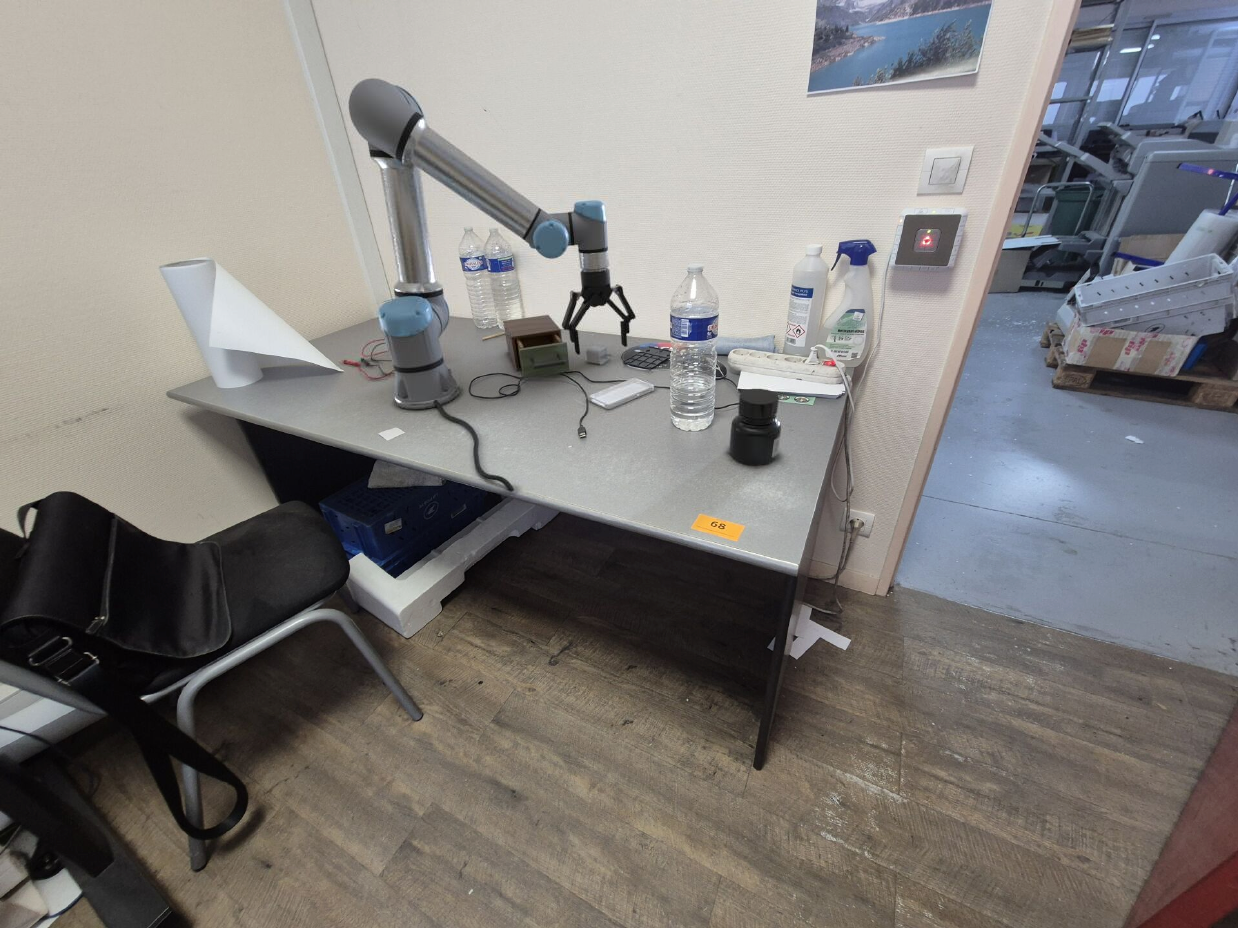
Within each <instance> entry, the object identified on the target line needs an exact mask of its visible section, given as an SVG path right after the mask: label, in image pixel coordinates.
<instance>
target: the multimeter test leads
mask: <svg viewBox="0 0 1238 928" xmlns="http://www.w3.org/2000/svg"><path fill="white" fill-rule="evenodd" d="M381 341H385V338H382V339H376V340H373V341H370V342H368V343H367V344H365V346H364V347H363V348H362V351H361V355H362V356H363V357H367V358H368V357H369V358H370V359H371V361H373V362H392V360H391V359H377V360H376V359H373V356H378V355H380V354H385V353H389V350H388V351H387V350H385V351H381V352H377V353H374V354H373V352H374V351H375V349H376V348H377V347H379V346H380V345H385V344H386V342H381ZM375 342H381V343H378V344H376V345H375V346H374V347H373V349H372V350H371V353H370V355H365V354H364V350H365V349H366V347H368V346H369V345H370V344H372V343H375ZM363 357H360V361H361V362H363V364H365V366H367V367H378V368H379V370H380V372H381V373H382V374H383V376H380V377H372V376H370V375H368V374H367V373H366V371H364V370H362V369H360V366H361V365H360V364H359V362H356V361H355V362H354V361H350V360H347V359H343V360H339V361H340V362H343V363H344V364H349V365H353V366H356V367H358V370H359V371H360V372H362V373H363V374H364V375H366V377H368V378H369V379H371V380H380V379H383V378H385V377H387V376H390V375H395V370H394V369H393V370H392V371H390V372H388V373H385V372H384V371H383V370H382V368H381V367H380V365H379V364H370V362H368V361H367V360H366V359H365V358H363Z"/></svg>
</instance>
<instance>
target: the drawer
mask: <svg viewBox="0 0 1238 928" xmlns="http://www.w3.org/2000/svg"><path fill="white" fill-rule="evenodd" d="M515 345H516V351H517V357H518V361H519V363H520V365H521V367H522V370H521V372H522V378H523V379H524V380H526V379H534V378H538V377H544V376H545V377H546V376H552V375H556V374H557V375H558V374H562V373H569V372H570V371H571V370H570V359H569V350H568V343H567V341H563V340H562V341H561V339H560V338H559V337H558V336H557V334H556V333H554V334H547V335H540V336H534V337H527V338H520V339H515Z"/></svg>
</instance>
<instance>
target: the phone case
mask: <svg viewBox="0 0 1238 928" xmlns="http://www.w3.org/2000/svg"><path fill="white" fill-rule="evenodd" d="M654 390H655V386H654V384H652V383H650V382H647V381H644V380H641V379H639V378H635V377H634V378H630V379H628V380H625V381H623V382H620V383H618V384H615V385H612V386H610V387H607V388H605V389H602V390H600V391H597V392H594V393H592V394H590V395H589V398H588V399H589V402H591V403H593V404H595V405H597V406H600V407H602V408H603V409H606V410H612V409H614V408H616V407H619V406H621V405H623V404H625V403H628V402H630V401H633V400H635V399H638V398H640V397H642V396H644V395H647V394H649V393H651V392H653V391H654Z"/></svg>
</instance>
